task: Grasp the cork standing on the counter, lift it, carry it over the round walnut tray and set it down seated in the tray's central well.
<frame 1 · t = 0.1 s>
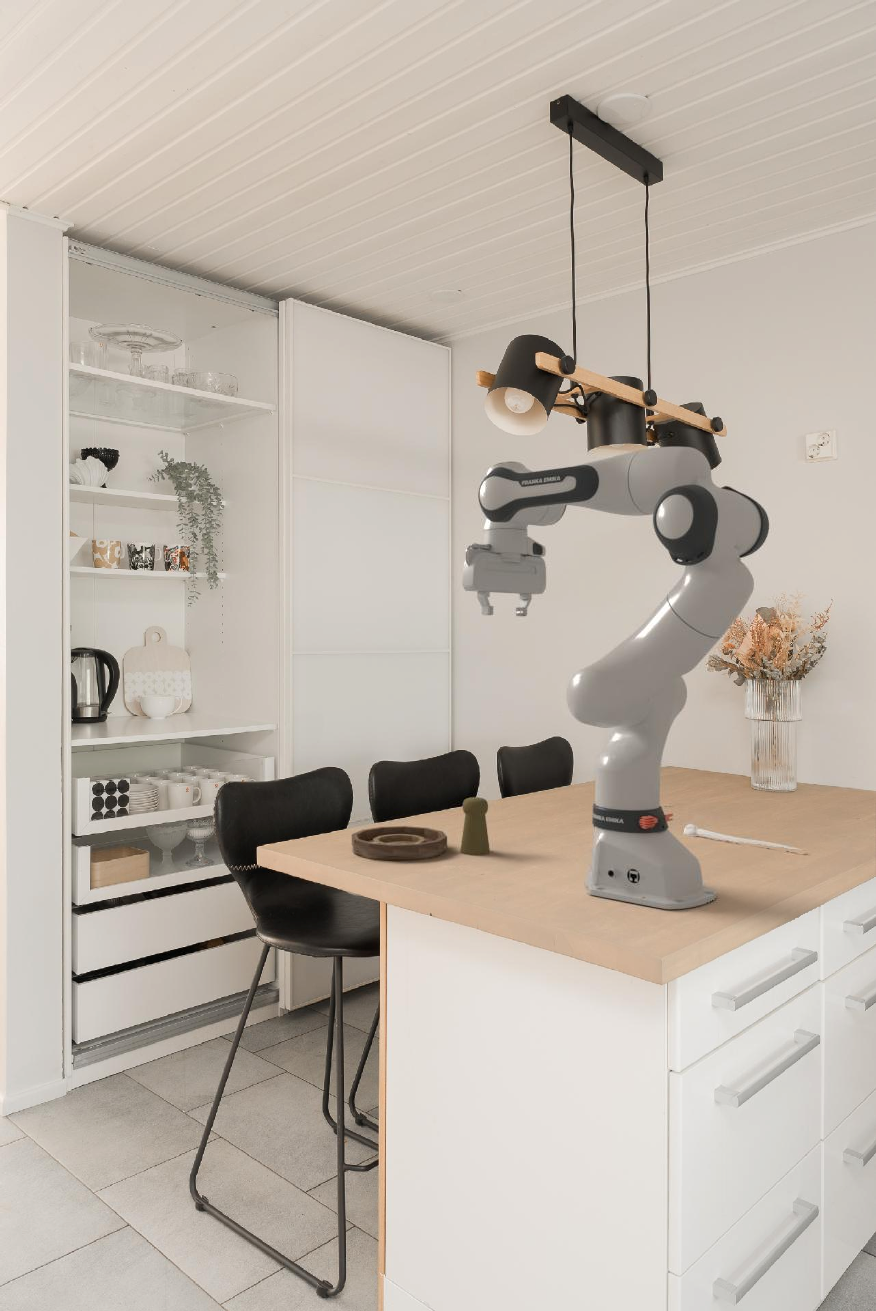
hand: (504, 615, 187), 48 cm above the worktop, fingers open, 8 cm apart
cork: (475, 852, 191), on the worktop
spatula: (743, 846, 200), on the worktop
tray: (399, 850, 192), on the worktop
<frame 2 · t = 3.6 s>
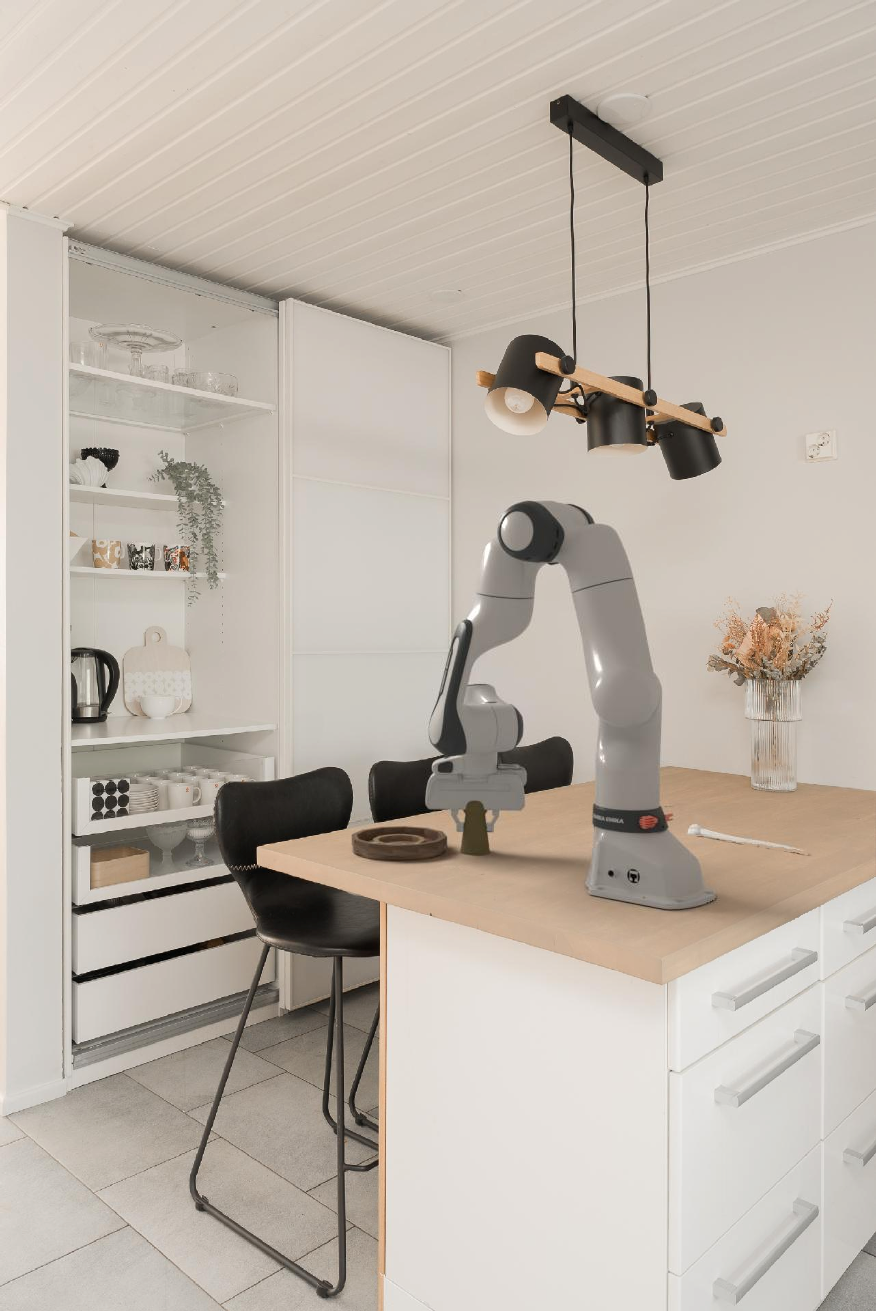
hand: (475, 831, 191), 4 cm above the worktop, fingers closed on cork, 5 cm apart
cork: (475, 852, 191), on the worktop, touching gripper
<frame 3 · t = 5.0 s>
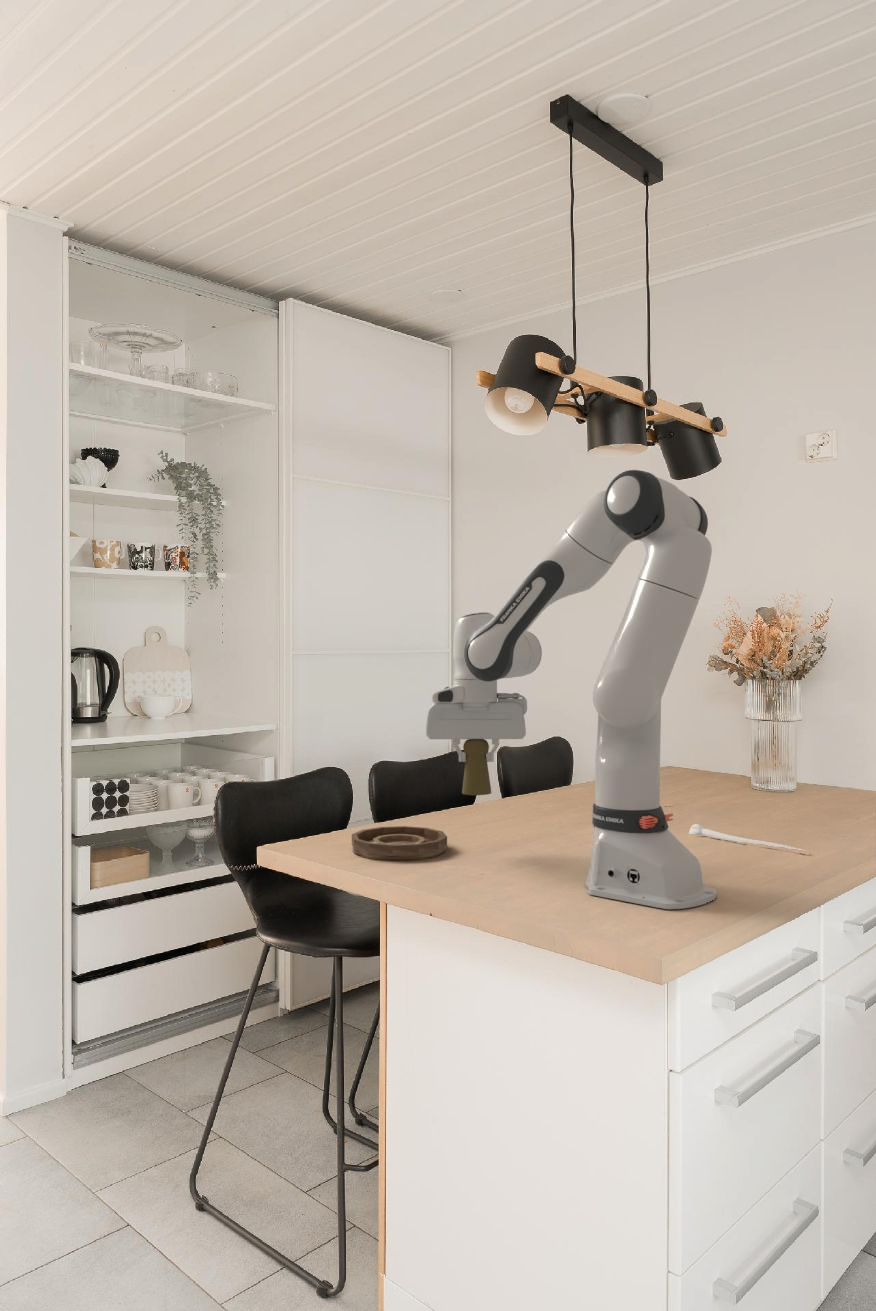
hand: (476, 761, 190), 18 cm above the worktop, fingers closed on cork, 4 cm apart
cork: (476, 793, 190), point 12 cm above the worktop, touching gripper
everything else where it was.
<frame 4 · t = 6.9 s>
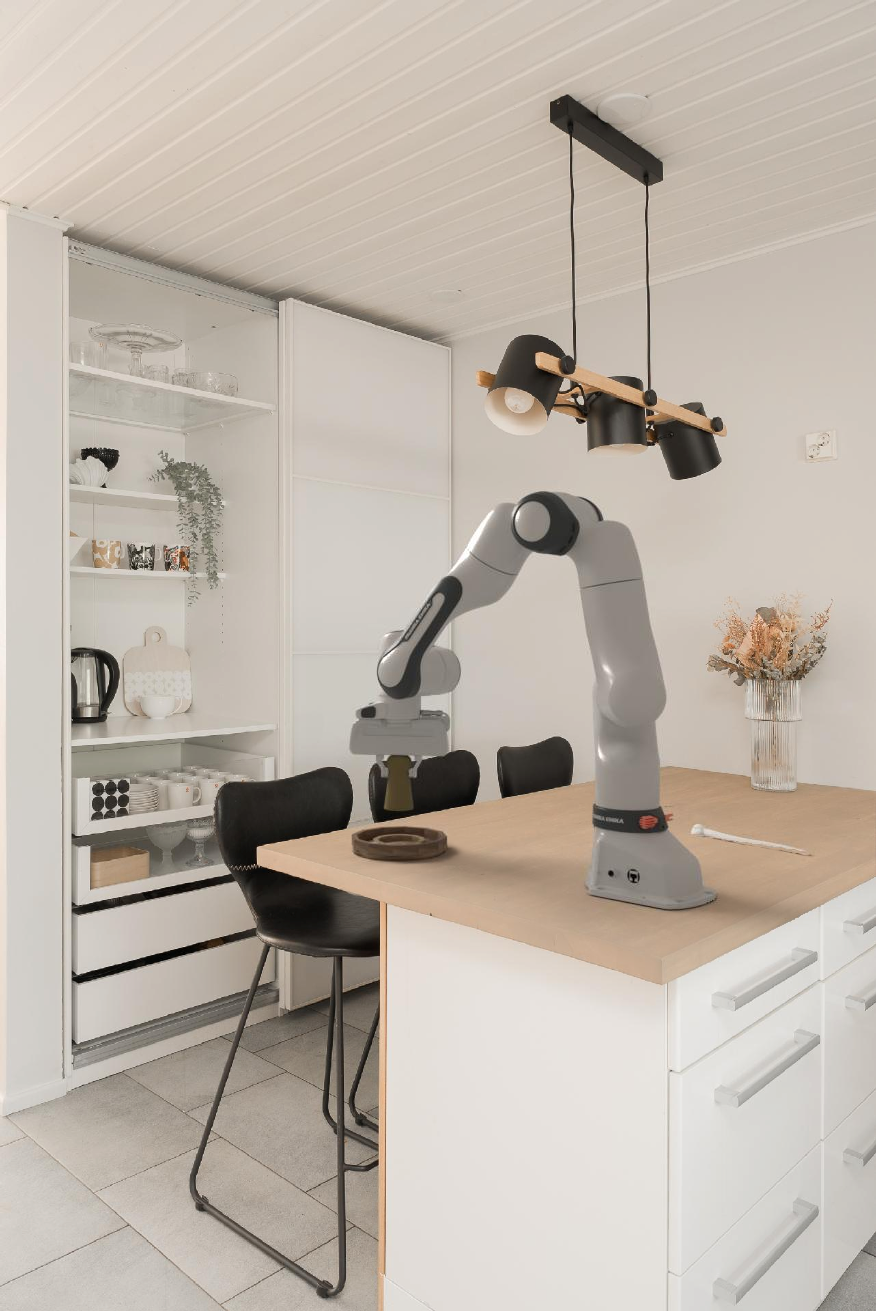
hand: (398, 777, 192), 15 cm above the worktop, fingers closed on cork, 4 cm apart
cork: (398, 809, 192), point 8 cm above the worktop, touching gripper
when the fingers open (7 cm above the worktop, at t = 9.0 s): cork stays where it is, resting on tray.
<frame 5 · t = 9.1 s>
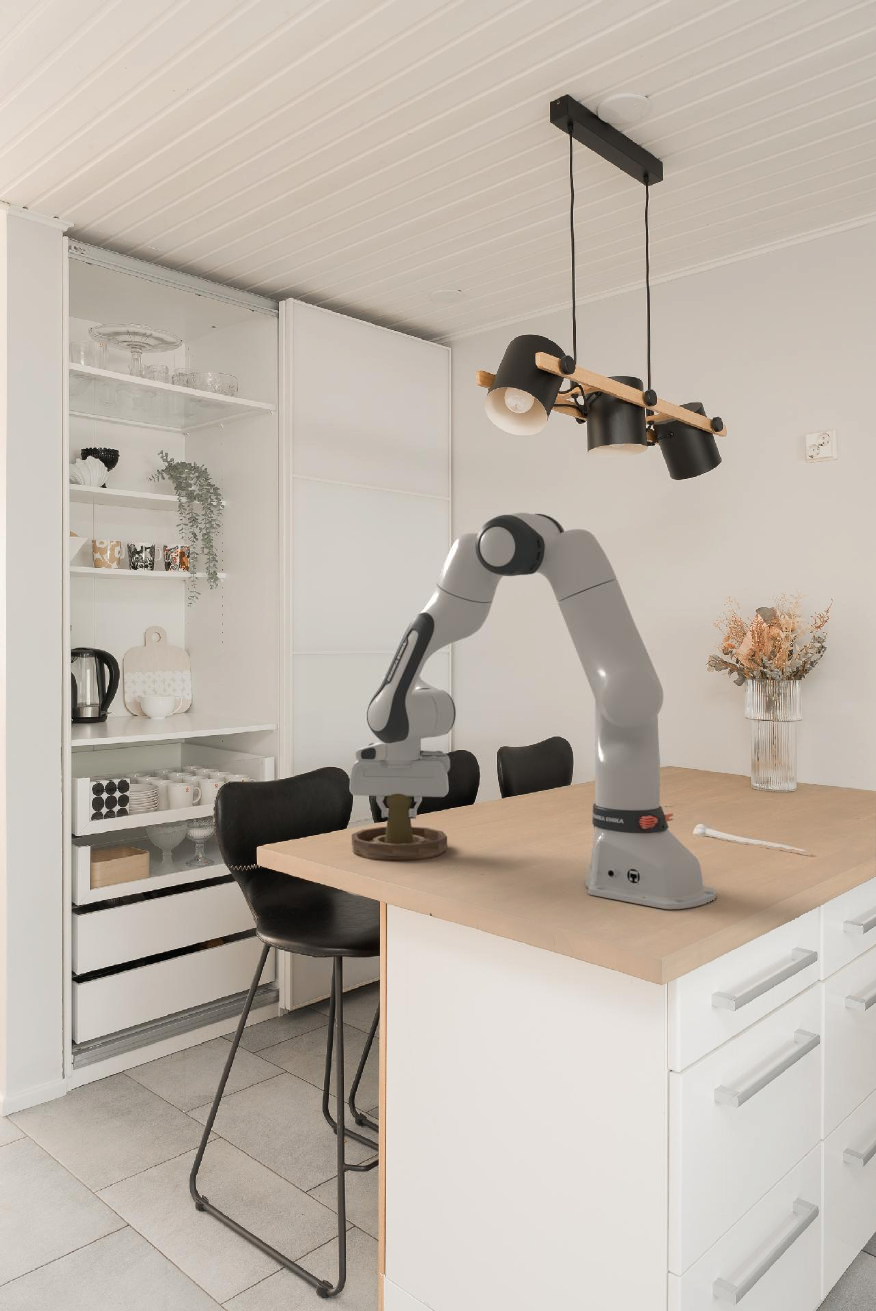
hand: (399, 817, 192), 7 cm above the worktop, fingers open, 4 cm apart
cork: (398, 846, 192), point 1 cm above the worktop, touching tray
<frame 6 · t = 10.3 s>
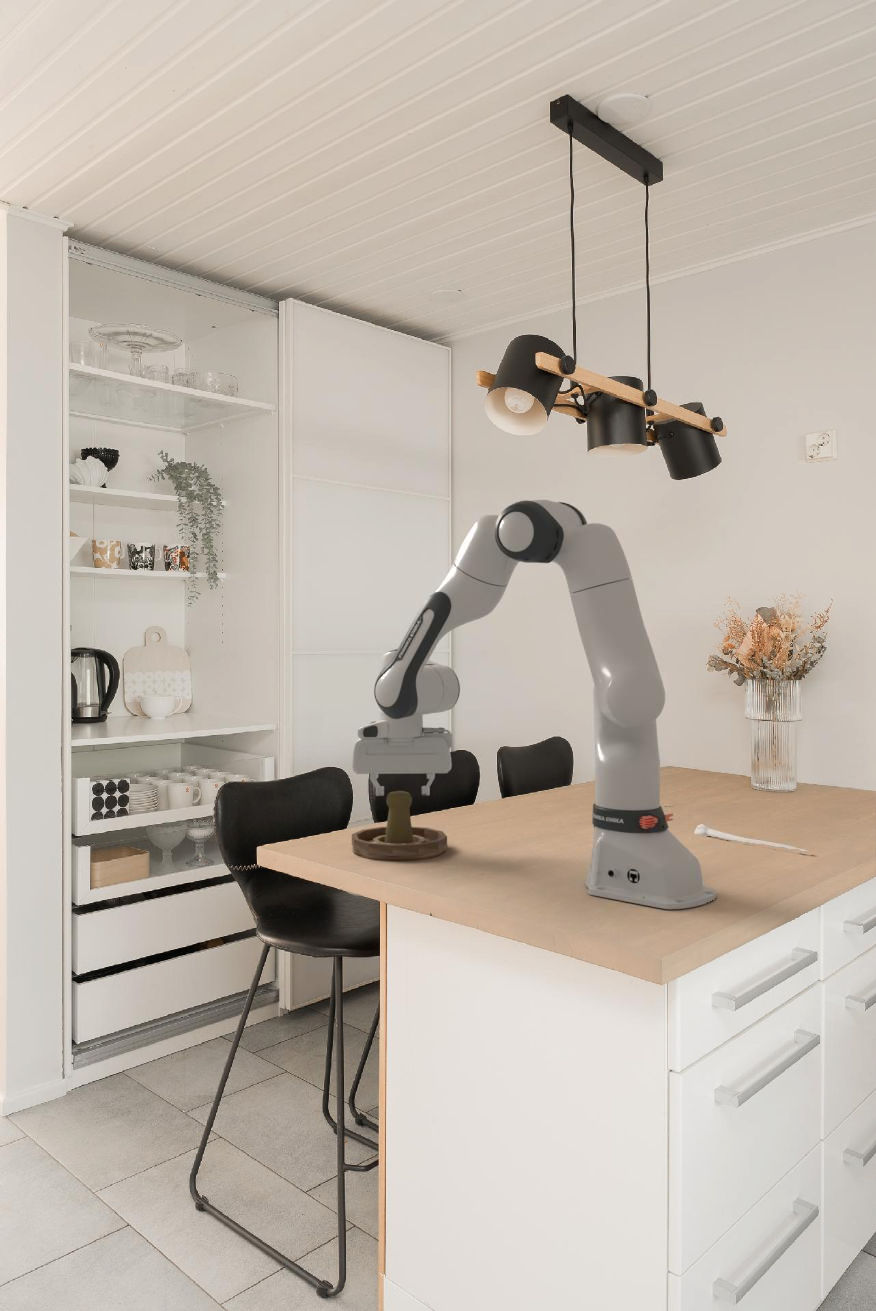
hand: (402, 795, 192), 11 cm above the worktop, fingers open, 8 cm apart
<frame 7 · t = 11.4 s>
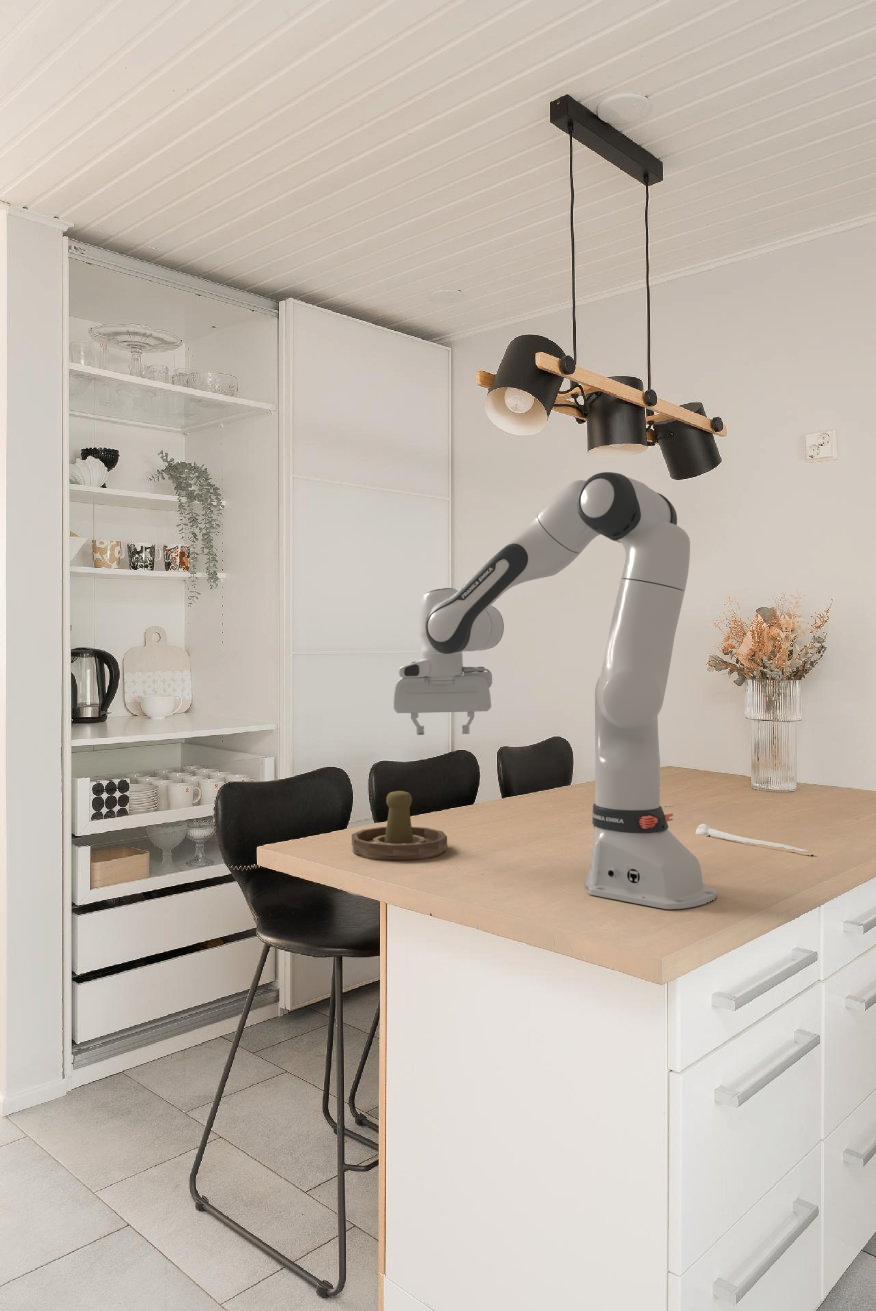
hand: (443, 734, 194), 23 cm above the worktop, fingers open, 8 cm apart
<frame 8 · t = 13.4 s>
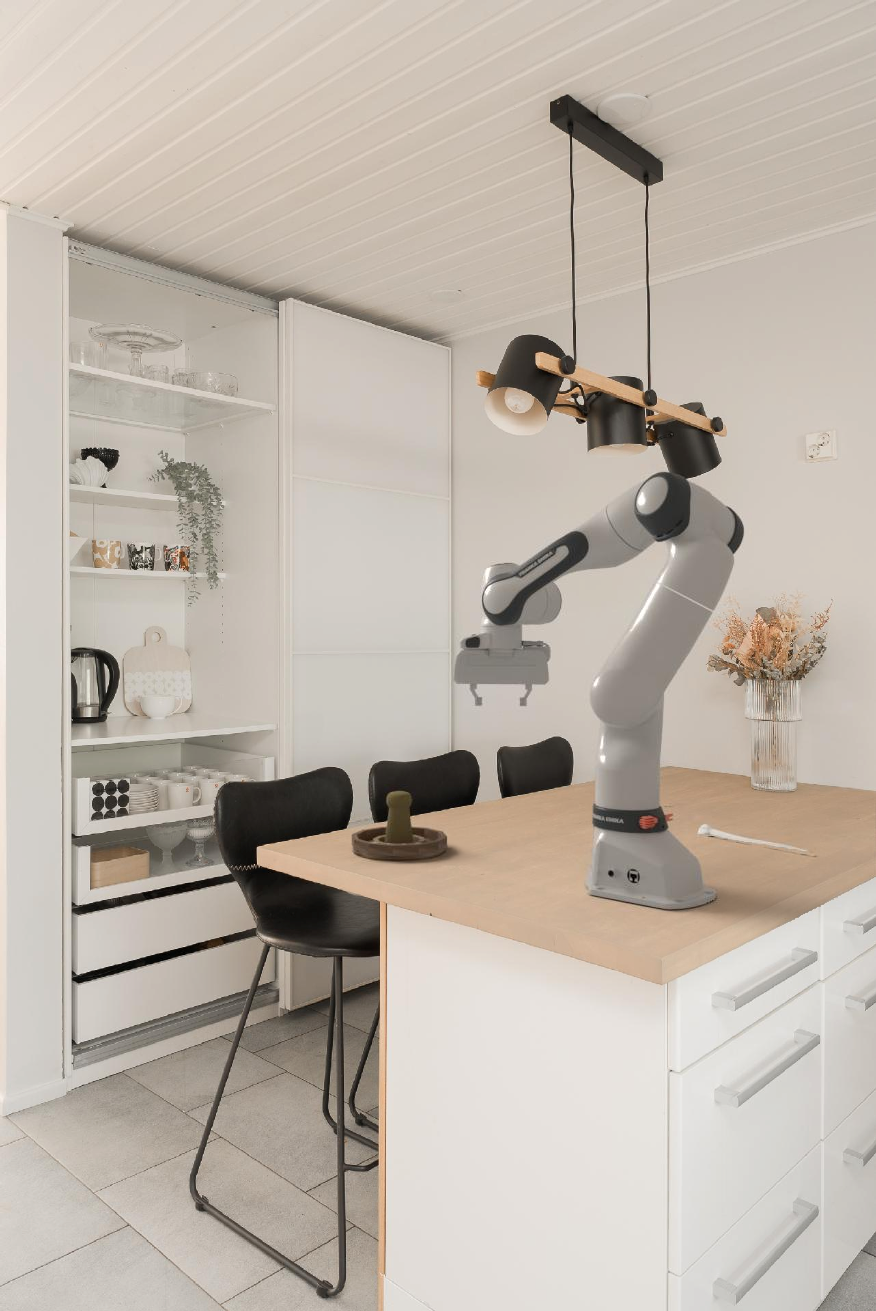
hand: (500, 705, 199), 29 cm above the worktop, fingers open, 8 cm apart
at the end: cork 0.1 cm from the tray (horizontally); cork tilted 0°; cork touching tray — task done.
